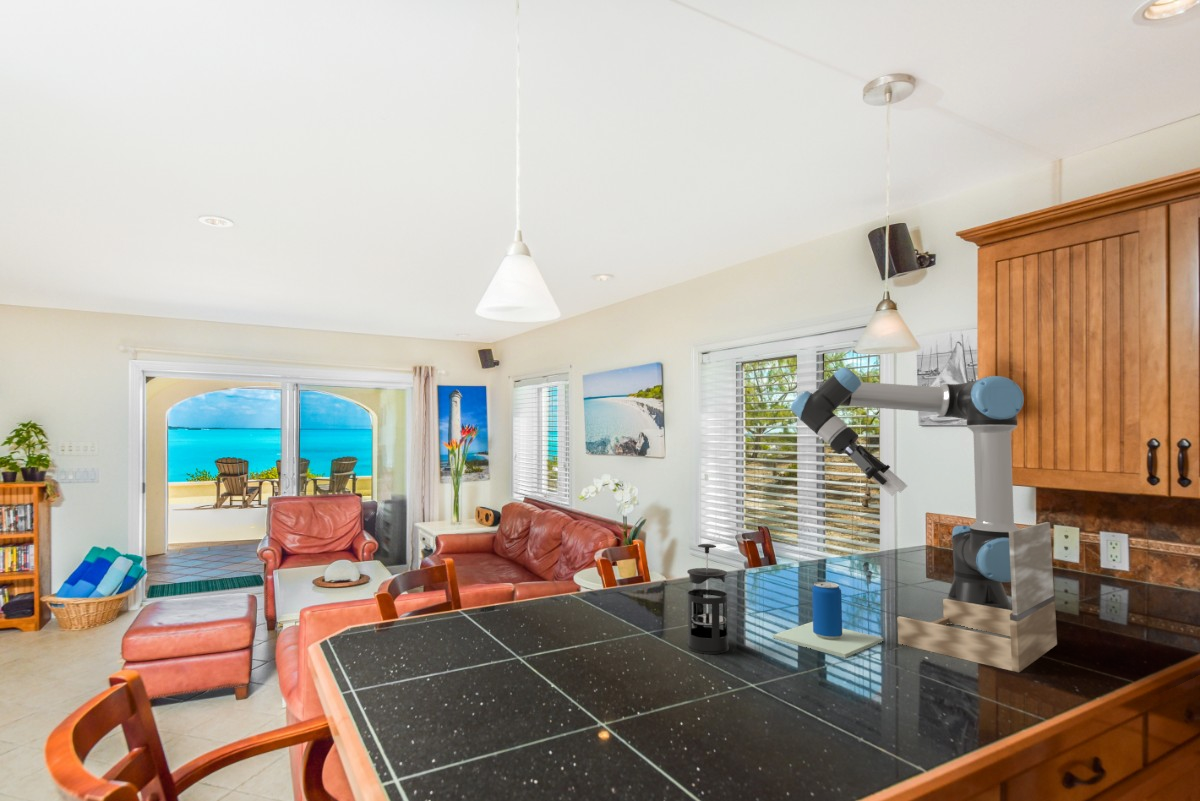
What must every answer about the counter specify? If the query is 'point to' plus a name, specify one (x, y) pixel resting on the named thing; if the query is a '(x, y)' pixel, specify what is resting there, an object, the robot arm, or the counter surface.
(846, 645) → the mat
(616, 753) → the counter surface
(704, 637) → the french press
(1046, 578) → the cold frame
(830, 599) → the beverage can
